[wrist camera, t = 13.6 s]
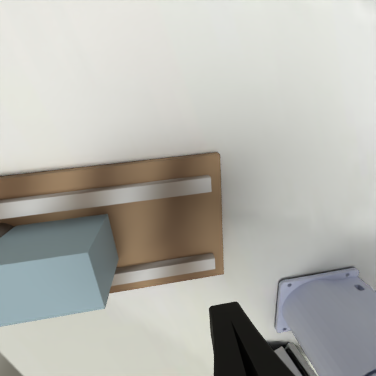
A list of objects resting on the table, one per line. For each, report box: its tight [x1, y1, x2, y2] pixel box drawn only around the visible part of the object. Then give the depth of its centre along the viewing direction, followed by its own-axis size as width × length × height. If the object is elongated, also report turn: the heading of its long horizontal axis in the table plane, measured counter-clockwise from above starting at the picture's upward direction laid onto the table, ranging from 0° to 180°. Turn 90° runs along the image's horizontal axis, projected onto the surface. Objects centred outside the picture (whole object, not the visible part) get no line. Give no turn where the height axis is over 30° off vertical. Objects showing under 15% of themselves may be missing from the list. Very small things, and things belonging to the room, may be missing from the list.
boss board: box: [0, 152, 224, 293], centre depth 16 cm, size 20×12×5 cm, turn 94°
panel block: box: [0, 214, 119, 327], centre depth 15 cm, size 7×4×5 cm, turn 94°
